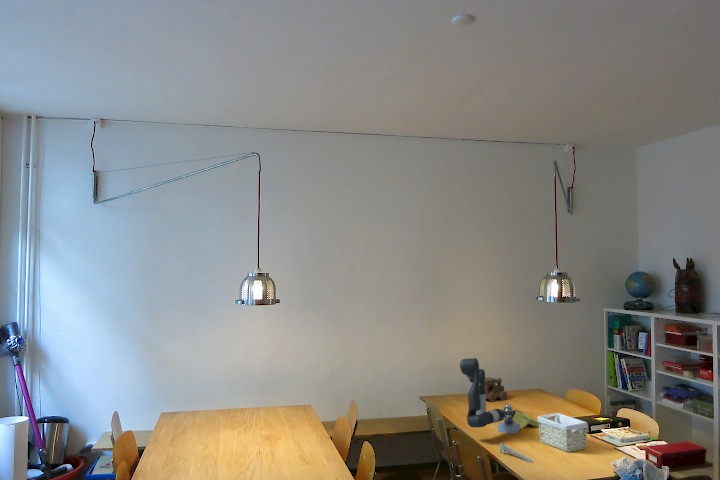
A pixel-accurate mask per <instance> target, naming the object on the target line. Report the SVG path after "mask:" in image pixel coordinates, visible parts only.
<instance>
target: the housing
mask: <svg viewBox="0 0 720 480" xmlns="http://www.w3.org/2000/svg"><path fill="white" fill-rule="evenodd" d="M503 410H504V411H509V412H510V411H514V409H513V407H512V404H510V403H505V404H504V407H503ZM506 413H507V412H506ZM503 420H504V421H503V422H504V423H506V424H513V422H514V419H513V417H512V418H509V417H505V418H503Z"/></svg>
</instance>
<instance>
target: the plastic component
mask: <svg viewBox="0 0 720 480" xmlns="http://www.w3.org/2000/svg"><path fill="white" fill-rule="evenodd" d="M513 411H515V413H516V414H514V417H513V422H514V423H520V428H521V429H525V428H527V426H528V425H531V426H533V427H536V428H539V423H538V421H537V420H536V419H535V418H533V417H532V416H530V415H528V414H527V413H525V412H523V411H522V410H521V411H520V410H519V409H517V408H514V409H513Z"/></svg>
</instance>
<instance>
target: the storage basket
mask: <svg viewBox="0 0 720 480" xmlns="http://www.w3.org/2000/svg"><path fill="white" fill-rule="evenodd" d="M536 421H538V423H539V425H538V431H539V432H538V433H539V438H540V439H539V440H540V442H541V443H543V444H547V445H549V446H551V447H553V448H556V449H559V450H562V451H564V452H575V451H580V450H584V449H586V448H587V441H588V439H587V437H588V435H587V434H588V428H589V426H588V422H587V421H584V420H581V419H578V418H576V417H575V418H574V417H571V416H568V415H565V414H562V413H559V412H556V413H549V414H542V415H538V416H537V420H536Z"/></svg>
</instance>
